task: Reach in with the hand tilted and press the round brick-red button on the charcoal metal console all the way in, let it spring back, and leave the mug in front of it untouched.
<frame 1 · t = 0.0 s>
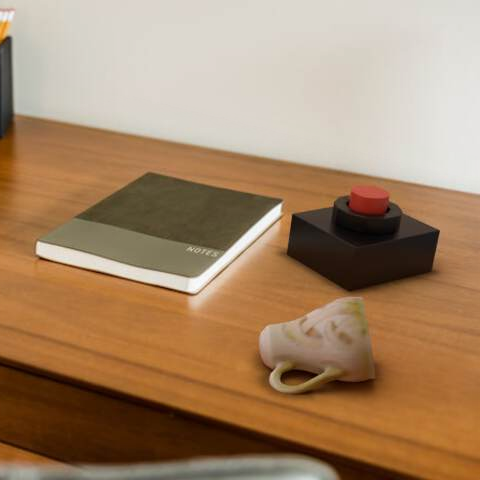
mug: (313, 376, 77), on the table
button: (369, 200, 96), point 8 cm above the table, slide at 0.1 cm
console: (357, 265, 99), on the table
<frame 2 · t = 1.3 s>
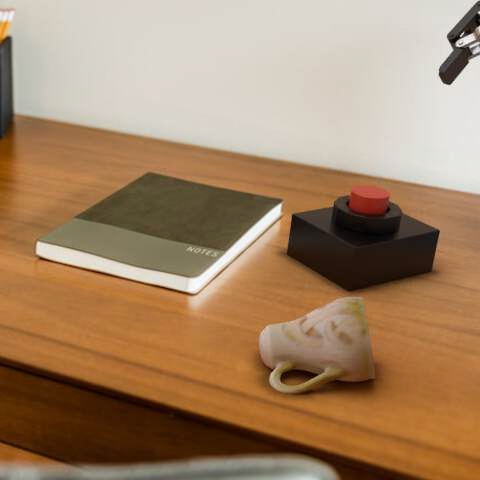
hand: (474, 89, 98), 19 cm above the table, tool tilted 45°, fingers open, 8 cm apart
nothing on the table moved.
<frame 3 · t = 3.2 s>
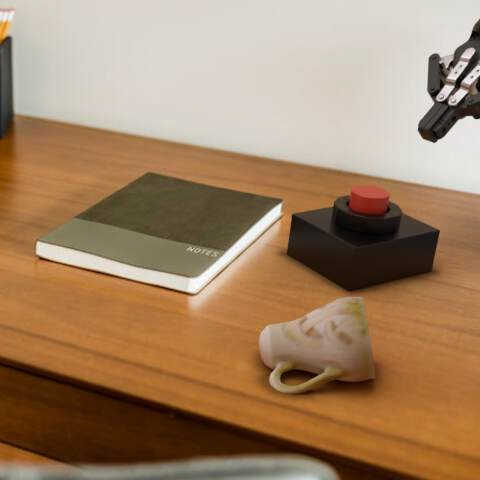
hand: (425, 136, 96), 14 cm above the table, tool tilted 45°, fingers closed
nothing on the table moved.
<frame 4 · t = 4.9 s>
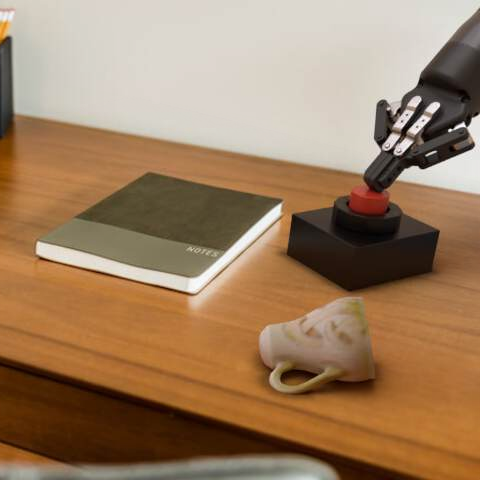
hand: (371, 186, 95), 9 cm above the table, tool tilted 45°, fingers closed
button: (369, 200, 96), point 8 cm above the table, slide at 0.1 cm, touching gripper
everything else where it was.
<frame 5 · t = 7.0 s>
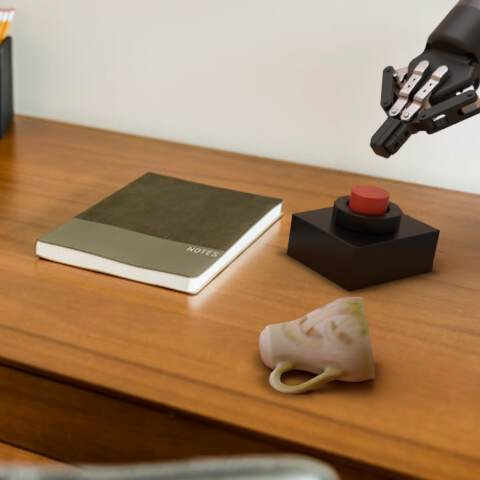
hand: (378, 152, 93), 13 cm above the table, tool tilted 45°, fingers closed
button: (369, 200, 96), point 8 cm above the table, slide at 0.1 cm
everything else where it was.
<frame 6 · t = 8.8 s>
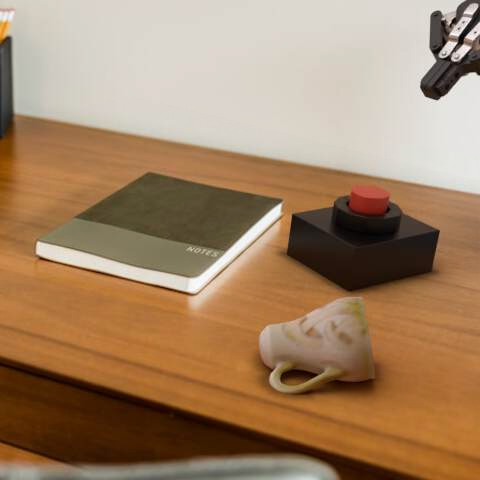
hand: (428, 94, 94), 19 cm above the table, tool tilted 45°, fingers closed
nothing on the table moved.
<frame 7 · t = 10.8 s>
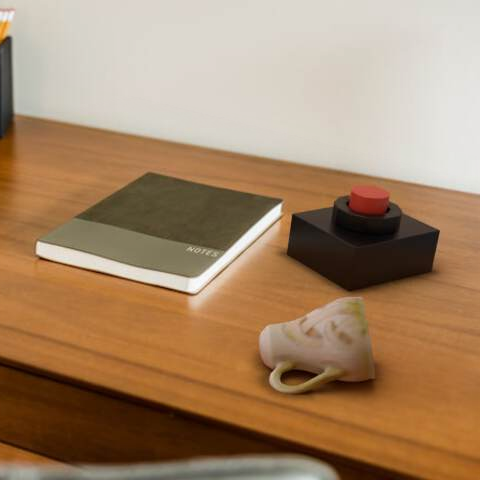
nothing on the table moved.
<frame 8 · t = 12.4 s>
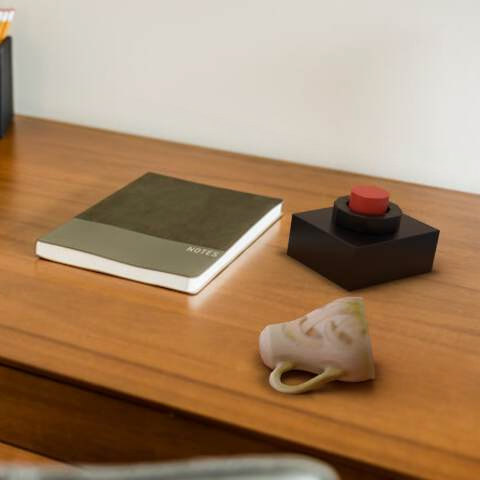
nothing on the table moved.
at the end: button pushed in 1.3 cm at the most during the clip, back to where it started at the end; button slide at 0.1 cm; mug moved 0.2 cm from its start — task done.
